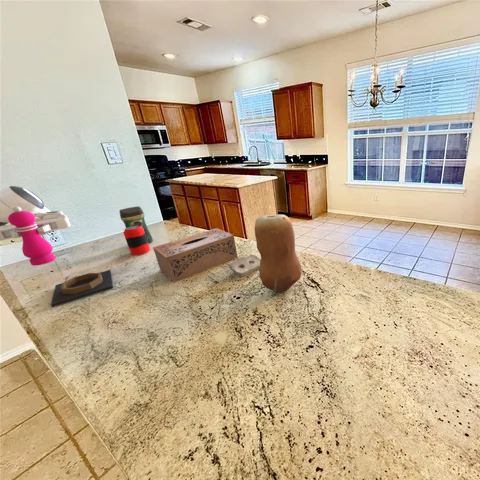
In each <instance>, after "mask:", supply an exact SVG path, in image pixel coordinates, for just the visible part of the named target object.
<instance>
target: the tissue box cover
mask: <svg viewBox="0 0 480 480" xmlns="http://www.w3.org/2000/svg"><path fill="white" fill-rule="evenodd" d="M152 249H153V252H154V255H155V258H156V262H157V265H158V267H159V271H160V272H161V273H163V274H164V275H165V276H166V277H168V279H169V280H170V281H171V282H172V283H176V282H179V281H181V280H184V279H186V278H189V277H191V276H194V275H197V274H199V273H201V272H205V271H207V270H209V269H211V268H214V267H217V266H219V265H222V264H225V263H227V262H229V261H231V260H234V259H236V258H238V256H239V255H238V251H237V246H236V241H235V235H234V234H233V233H229V232H227V231H225V230H222V229H220V228H218V227H216V228H212V229H209V230H206V231H202V232H199V233H196V234H192V235H189V236H186V237H182V238H179V239H175V240H172V241H170V242H169V241H168V242H165V243H163V244H159V245H156V246H153V247H152Z"/></svg>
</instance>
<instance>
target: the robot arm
mask: <svg viewBox="0 0 480 480" xmlns="http://www.w3.org/2000/svg"><path fill="white" fill-rule="evenodd" d="M14 207H20V208H21V211H28V212H31V213H32V214H33V215H34V216H35V218H36V219H35V222H34V223H35V224H36V225H37V226H38V227H37V231H38V233H39V234H40V236H41V237H42V236H44V235H46V234H49V233H52V232H55V231H59V230H63V229H69V228H71V227H72V225H71V222H70V220H69V218H68V215H66V214H65V213H64V212H63V210H57V211H56V210H55V211H51V210H50V209H49V208H47V207H45V204H44V202H43V200H42V199H41V198H40V197H39V196H38V195H36V194H35V192H33V191H31V190H30V189H28V188H25V187H22V186H16V185H10V186H8V187H5V188H3V189H2V190H0V242H1V241H6V240H13V239H19V238H22V236H21V234H20V233H19V232H17V231H16V229H15V227H16V226H14V225H12V224H10V222H9V220H8V217H9V215H10V214H12V213H14V212H15V211H14V210H13V208H14Z"/></svg>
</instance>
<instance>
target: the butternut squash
mask: <svg viewBox="0 0 480 480" xmlns="http://www.w3.org/2000/svg"><path fill="white" fill-rule="evenodd" d="M254 236H255V242H256V249H257V251H258V253H259V255H260V259H261V261H260V267H259V269H258V270H259V271H258V273H259V279H260V281H261V284H262V286H264V287H265V288H267V289H269V290H270V291H274V292H282V291H284V290H286V291H287V290H289V289H291V288H292V287H293V286H294V285H295V284H296V283H297V282H298V281H299V280H300V279H301V277H302V274H303V268H302V265H301V262H300V259H299V258H298V255H297V252H296V238H295V230H294V227H293V222H292V221H291V219H290V217H288V216H287V215H286V214H270V215H262V216H260V217H258V218H256V220H255V222H254Z"/></svg>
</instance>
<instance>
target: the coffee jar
mask: <svg viewBox="0 0 480 480" xmlns="http://www.w3.org/2000/svg"><path fill="white" fill-rule="evenodd" d="M119 217H120V220H121V221H122V222H123V224H124V227H125V228H127V227H131V226H140V227H142V228H143V229H144V232H145V235H146V238H147V241H148V244H151V243H152V242H153V241H154V239H153V236H152V233H151V232H150V230H149V228H148V225H147V223H146V220H145V212H144V210H143V209H142V207H141V206H139V205H138V206H132V207H126V208H122V209H119Z"/></svg>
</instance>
